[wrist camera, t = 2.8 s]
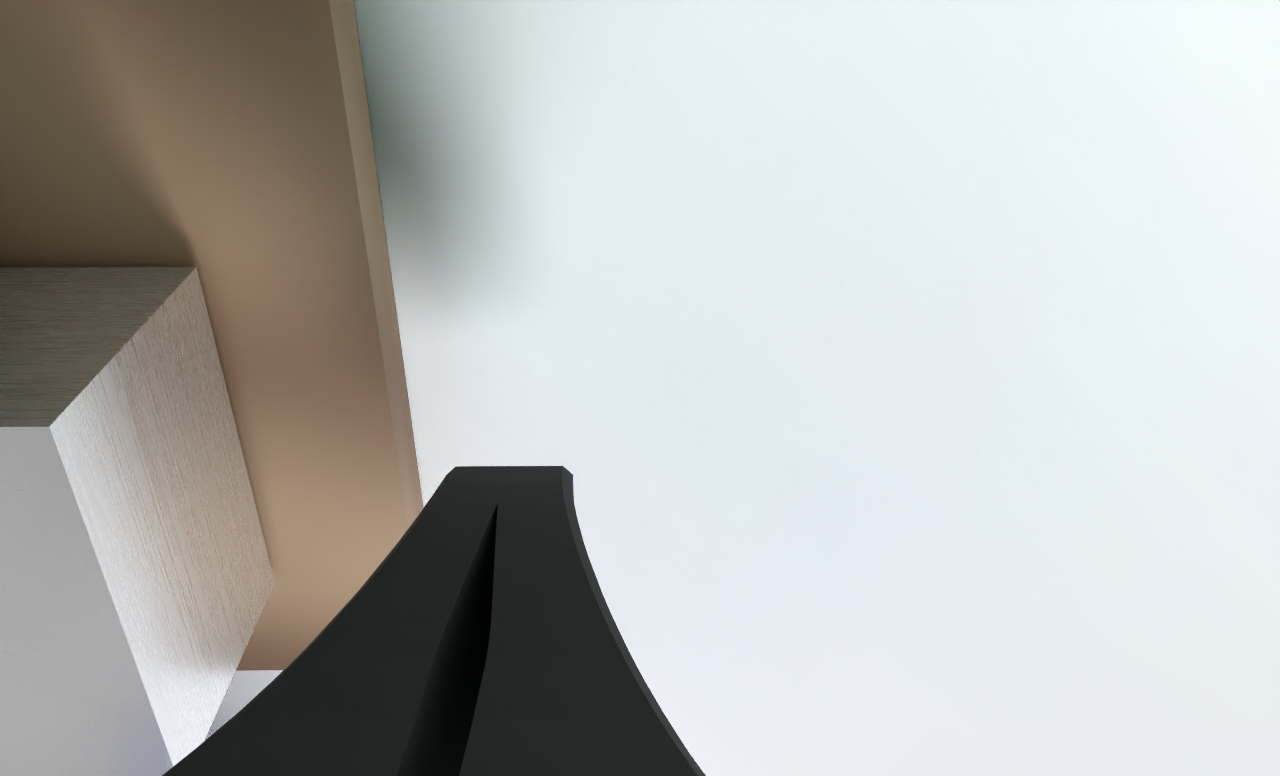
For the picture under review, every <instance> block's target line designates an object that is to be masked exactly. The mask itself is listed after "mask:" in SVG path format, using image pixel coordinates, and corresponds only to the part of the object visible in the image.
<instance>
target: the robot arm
mask: <svg viewBox="0 0 1280 776" xmlns="http://www.w3.org/2000/svg"><path fill="white" fill-rule="evenodd" d="M162 776H705V774H704V773H703V771H702V770H701V769H700V767H699V766H698V765H697V763H696V762H695V761H694V759H693V758H692V756H691V755H690V754H689V752H688V751H687V749H686V748H685V746H684V744H683V743H682V741H681V740H680V738H679V737H678V735H677V734H676V732H675V730H674V729H673V727H672V726H671V724H670V723H669V721H668V719H667V718H666V716H665V715H664V713H663V712H662V710H661V708H660V706H659V705H658V703H657V701H656V700H655V698H654V696H653V695H652V693H651V691H650V689H649V688H648V686H647V684H646V683H645V681H644V679H643V677H642V675H641V673H640V672H639V670H638V668H637V666H636V664H635V662H634V660H633V658H632V656H631V655H630V653H629V651H628V649H627V647H626V645H625V643H624V640H623V638H622V636H621V634H620V632H619V630H618V628H617V626H616V624H615V622H614V619H613V617H612V615H611V613H610V611H609V608H608V606H607V604H606V601H605V599H604V597H603V594H602V592H601V589H600V586H599V584H598V581H597V578H596V576H595V573H594V571H593V568H592V565H591V563H590V560H589V557H588V554H587V551H586V548H585V545H584V542H583V539H582V535H581V531H580V528H579V524H578V520H577V516H576V511H575V506H574V496H573V475H572V474H571V473H570V472H569V471H568V470H567V469H566V468H565V467H563V466H469V467H455V468H454V469H453V470H452V471H450V472H449V473H448V474H447V475H446V477H445V478H444V480H443V481H442V483H441V484H440V486H439V487H438V488H437V490H436V491H435V493H434V494H433V496H432V497H431V498H430V500H429V501H428V503H427V504H426V505H425V507H424V508H423V510H422V511H421V512H420V514H419V515H418V517H417V518H416V519H415V521H414V522H413V523H412V525H411V526H410V527H409V529H408V530H407V531H406V532H405V534H404V535H403V536H402V538H401V539H400V540H399V542H398V543H397V544H396V545H395V547H394V548H393V549H392V550H391V552H390V553H389V554H388V555H387V557H386V558H385V559H384V560H383V561H382V563H381V564H380V565H379V566H378V568H377V569H376V570H375V571H374V573H373V574H372V575H371V576H370V577H369V579H368V580H367V581H366V582H365V584H364V585H363V586H362V587H361V588H360V590H359V591H358V592H357V593H356V594H355V595H354V596H353V598H352V599H351V600H350V601H349V602H348V603H347V604H346V605H345V606H344V607H343V608H342V610H341V611H340V612H339V613H338V614H337V615H336V616H335V617H334V618H333V619H332V621H331V622H330V623H329V624H328V625H327V626H326V627H325V628H324V629H323V630H322V631H321V633H320V634H319V635H318V636H317V637H316V638H315V639H314V640H313V641H312V642H311V643H310V644H309V645H308V647H307V648H306V649H305V650H304V651H303V652H302V653H301V654H300V655H299V656H298V657H297V658H296V659H295V660H294V661H293V662H292V663H291V664H290V665H289V666H288V667H287V668H286V669H285V670H284V671H283V672H281V673H280V674H279V675H278V676H277V677H276V678H275V679H274V680H273V681H272V682H271V683H270V684H269V685H268V686H267V687H266V688H265V689H264V690H262V691H261V692H260V693H259V694H258V695H257V696H256V697H255V698H254V699H253V700H252V701H250V702H249V703H248V704H247V705H246V706H245V707H244V708H243V709H242V710H241V711H239V712H238V713H237V714H236V715H235V716H234V717H233V718H231V719H230V720H229V721H228V722H227V723H226V724H224V725H223V726H222V727H221V728H220V729H218V730H217V731H216V732H215V733H214V734H212V735H211V736H210V737H209V738H208V739H206V740H205V741H204V742H203V743H202V744H201V745H199V746H198V747H197V748H196V749H194V750H193V751H192V752H191V753H189V754H188V755H187V756H186V757H184V758H183V759H182V760H181V761H180V762H178V763H177V764H176V765H175V766H173V767H172V768H171V769H170V770H168V771H167V772H166V773H165V774H163V775H162Z"/></svg>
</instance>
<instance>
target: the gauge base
mask: <svg viewBox="0 0 1280 776" xmlns="http://www.w3.org/2000/svg"><path fill="white" fill-rule="evenodd" d="M31 267H197V271H198V275H199V279H200V283H201V287H202V291H203V295H204V299H205V303H206V307H207V311H208V315H209V320H210V324H211V328H212V332H213V336H214V340H215V344H216V348H217V352H218V356H219V360H220V364H221V368H222V372H223V376H224V380H225V384H226V388H227V392H228V396H229V400H230V404H231V408H232V412H233V416H234V420H235V424H236V428H237V432H238V437H239V441H240V445H241V449H242V453H243V457H244V461H245V465H246V469H247V473H248V477H249V481H250V485H251V489H252V493H253V497H254V501H255V505H256V509H257V513H258V517H259V521H260V525H261V529H262V533H263V537H264V541H265V545H266V550H267V554H268V558H269V562H270V566H271V570H272V574H273V578H274V582H275V583H274V586H273V588H272V590H271V592H270V595H269V597H268V599H267V601H266V604H265V606H264V608H263V610H262V613H261V615H260V617H259V619H258V622H257V624H256V626H255V628H254V631H253V633H252V635H251V637H250V640H249V642H248V644H247V646H246V649H245V651H244V653H243V655H242V658H241V660H240V662H239V664H238V667H237V669H236V670H285V669H286V668H287V667H288V666H289V665H290V664H291V663H292V662H293V661H294V660H295V659H296V658H297V657H298V656H299V655H300V654H301V653H302V652H303V651H304V650H305V649H306V648H307V647H308V645H309V644H310V643H311V642H312V641H313V640H314V639H315V638H316V637H317V636H318V635H319V634H320V633H321V631H322V630H323V629H324V628H325V627H326V626H327V625H328V624H329V623H330V622H331V621H332V619H333V618H334V617H335V616H336V615H337V614H338V613H339V612H340V611H341V610H342V608H343V607H344V606H345V605H346V604H347V603H348V602H349V601H350V600H351V599H352V598H353V596H354V595H355V594H356V593H357V592H358V591H359V590H360V588H361V587H362V586H363V585H364V584H365V582H366V581H367V580H368V579H369V577H370V576H371V575H372V574H373V573H374V571H375V570H376V569H377V568H378V566H379V565H380V564H381V563H382V561H383V560H384V559H385V558H386V557H387V555H388V554H389V553H390V552H391V550H392V549H393V548H394V547H395V545H396V544H397V543H398V542H399V540H400V539H401V538H402V536H403V535H404V534H405V532H406V531H407V530H408V529H409V527H410V526H411V525H412V523H413V522H414V521H415V519H416V518H417V517H418V515H419V514H420V512H421V511H422V510H423V502H422V495H421V488H420V481H419V473H418V466H417V459H416V451H415V444H414V437H413V430H412V422H411V415H410V408H409V400H408V393H407V386H406V379H405V371H404V364H403V357H402V349H401V342H400V335H399V328H398V320H397V313H396V306H395V298H394V291H393V284H392V277H391V269H390V262H389V255H388V247H387V240H386V233H385V226H384V218H383V211H382V204H381V196H380V189H379V182H378V175H377V167H376V160H375V153H374V145H373V138H372V131H371V124H370V116H369V109H368V102H367V94H366V87H365V80H364V73H363V65H362V58H361V51H360V43H359V36H358V29H357V22H356V14H355V7H354V0H0V268H31Z"/></svg>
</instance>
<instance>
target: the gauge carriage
mask: <svg viewBox="0 0 1280 776" xmlns="http://www.w3.org/2000/svg"><path fill="white" fill-rule="evenodd" d="M274 583H275V582H274V578H273V574H272V570H271V566H270V562H269V558H268V554H267V550H266V545H265V541H264V537H263V533H262V529H261V525H260V521H259V517H258V513H257V509H256V505H255V501H254V497H253V493H252V489H251V485H250V481H249V477H248V473H247V469H246V465H245V461H244V457H243V453H242V449H241V445H240V441H239V437H238V432H237V428H236V424H235V420H234V416H233V412H232V408H231V404H230V400H229V396H228V392H227V388H226V384H225V380H224V376H223V372H222V368H221V364H220V360H219V356H218V352H217V348H216V344H215V340H214V336H213V332H212V328H211V324H210V320H209V315H208V311H207V307H206V303H205V299H204V295H203V291H202V287H201V283H200V279H199V275H198V271H197V267H31V268H0V776H162V775H163V774H165V773H166V772H167V771H168V770H170V769H171V768H172V767H173V766H175V765H176V764H177V763H178V762H180V761H181V760H182V759H183V758H184V757H186V756H187V755H188V754H189V753H191V752H192V751H193V750H194V749H196V748H197V747H198V746H199V745H201V744H202V743H203V742H204V741H205V739H206V736H207V734H208V732H209V730H210V727H211V725H212V723H213V721H214V718H215V716H216V714H217V712H218V709H219V707H220V705H221V703H222V700H223V698H224V696H225V694H226V691H227V689H228V687H229V685H230V682H231V680H232V678H233V676H234V673H235V671H236V669H237V667H238V664H239V662H240V660H241V658H242V655H243V653H244V651H245V649H246V646H247V644H248V642H249V640H250V637H251V635H252V633H253V631H254V628H255V626H256V624H257V622H258V619H259V617H260V615H261V613H262V610H263V608H264V606H265V604H266V601H267V599H268V597H269V595H270V592H271V590H272V588H273V586H274Z"/></svg>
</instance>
